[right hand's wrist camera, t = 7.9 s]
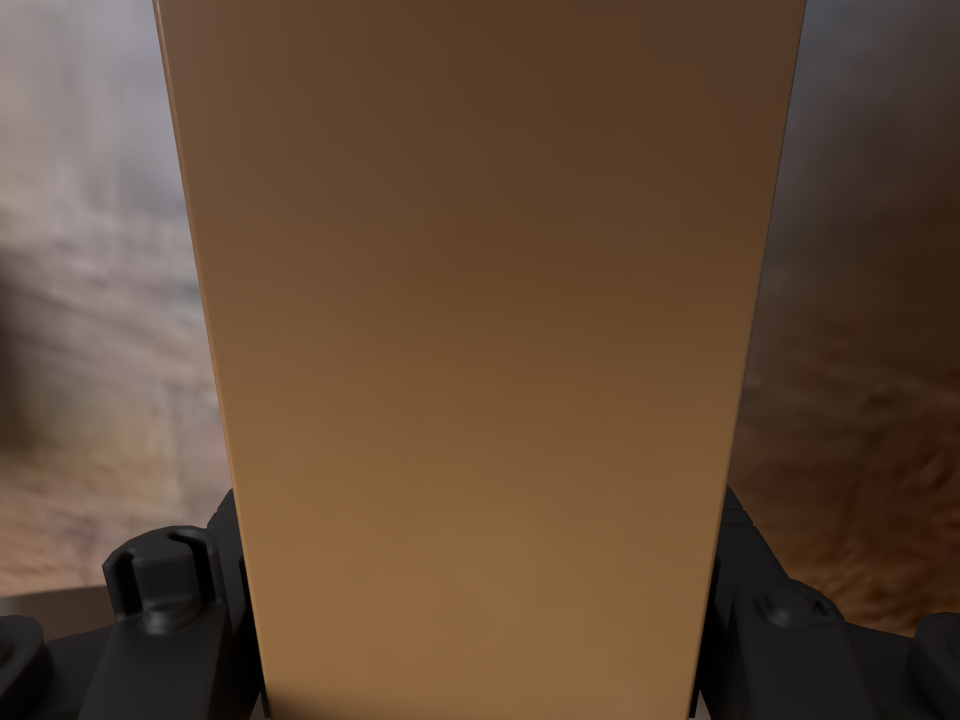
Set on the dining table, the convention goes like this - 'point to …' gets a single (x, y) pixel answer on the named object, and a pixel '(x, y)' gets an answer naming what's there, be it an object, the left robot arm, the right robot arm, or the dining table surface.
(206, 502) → the dining table surface
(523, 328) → the bar
